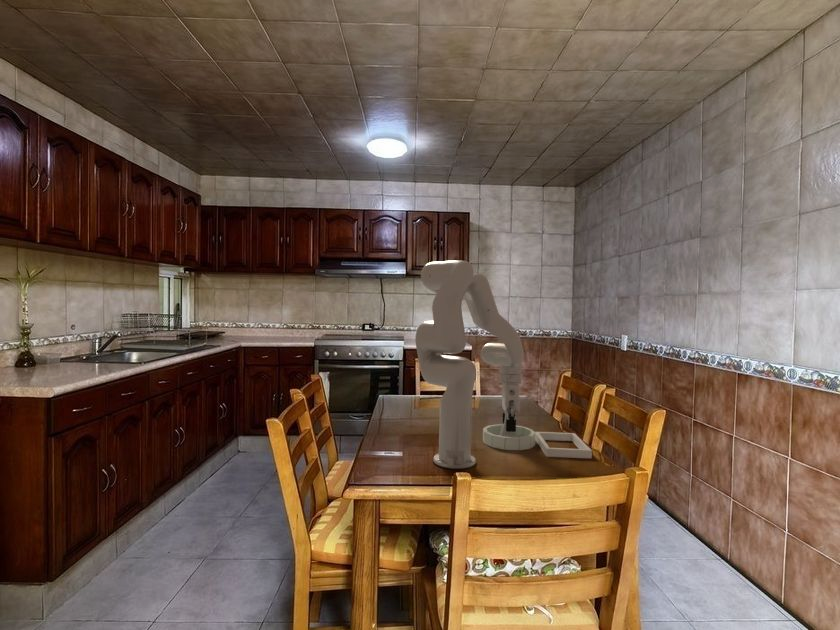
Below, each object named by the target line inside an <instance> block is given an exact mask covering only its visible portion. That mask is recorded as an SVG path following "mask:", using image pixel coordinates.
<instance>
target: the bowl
mask: <svg viewBox="0 0 840 630" xmlns="http://www.w3.org/2000/svg"><path fill="white" fill-rule="evenodd" d="M502 427H503V423H502V424H501V423H500V424H491V425H486V426H485V427H483V429H482V441H483V444H485V445H486V446H488V447H491V448H493V449H498V450H499V449H500V450H502V451H503V450H505V451H524V450H531V449H532V448H534V447H535V446H536V440H535V432H536V431H534V430H533V429H531V428H530V427H529V428H528V427H526V426H521V425H517V424H516V433H517V436H518V437H505V436H499V435H500V432H501V430H502Z"/></svg>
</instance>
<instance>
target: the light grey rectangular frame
mask: <svg viewBox="0 0 840 630" xmlns="http://www.w3.org/2000/svg"><path fill="white" fill-rule="evenodd" d="M534 432H535V443H537V445H538V447H540V449H541V450H542V452H543V453H544V456H545V457H549V458H568V459H569V458H571V459H572V458H573V459H575V458H576V459H592V458H593V450H592V449H591V448H590V447H589V446H588V445H587V444H586V443H585V442H584V441H583V439H581V438H580V437H579V436H578V435H577V434H576V433H575V432H554V431H534ZM546 441H563V442H566V441H567V442H572V443H573V444H574V445H575V446H576V447H577V448H565V447H549V445H548V443H547V442H546Z"/></svg>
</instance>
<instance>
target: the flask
mask: <svg viewBox="0 0 840 630" xmlns="http://www.w3.org/2000/svg"><path fill="white" fill-rule="evenodd" d="M503 413H505V421H504V424H503V423H502V424H503V427H502V430H501V432H500V435H499V436H505V437H518V436H517V433H516V431H515V432H507V431H506V419H507V413H506V412H503Z"/></svg>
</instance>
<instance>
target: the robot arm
mask: <svg viewBox="0 0 840 630" xmlns="http://www.w3.org/2000/svg"><path fill="white" fill-rule="evenodd" d="M420 279H421V282H422V284H423V286H424V287H425V288H426V289H427V290H429V291H431V292H433V293H435V294H436V295H435V296H434V298H433V301H432V307H431V313H432V320H425V321H424V322H422V323H420V324H419V325H418V327H417V329H416V333H415V338H414V339H415V340H414V341H415V346H416V354H417V358H418V365H419V371H420V373H421V376H422V378H423V381H425V382H426V383H427V384H429V385H434V386H438V387H444V388H446V390H445V391H444V392H443V394H442V397H441V399H440V401H439V426H438V427H439V432H438V434H439V435H438V453H436V454H434V456H433V458H432V459H433V462H434V464H436V465H437V466H439V467H442V468H447V469H452V470H453V469H454V470H455V469H457V470H459V469H460V470H461V469H467V468H472V467H473V466H475V464H476V460H477V459H476V457H475V456H474V455H471V450H472V449H471V448H472V416H473V415H472V414H473V413H472V406H473V392H474V385H475V382H476V377H477V368H476V365H475V364H474V362H473V361H472V360H470V359H469V358H467V357H465V356H464V357H463V356H458V355H457V354H460V353H462V352H463V350H465V347H466V345H467V339H466V331H465V324H464V318H463V311H462V309H463V308H462V304H463V303H462V302H463V301H465V303H466V305H467V308H468V311H469V313H470V316H471V319H472V322H473V324H474V325H475V326H477V327H478V328H480V329H481V330H483V331H486V332H487V333H489V334H491V335H493V336H495V337H496V338H498V339H499V340H500V341H501V342H488V343H486V344H484V345H483V346H482V348H481V349H480V358H481V360H482V361H483V363H485V364H487V365H491V366H498V367H499V373H498V375H499V377H498V378H499V379H498V380H499V381H498V382H499V384H500V383H501V385H502V387H501V407H502V424H504V421H505V413H504V412H506V413H507V419H506V431H507V432H515V431H516V425H517V420H516V419H517V417H516V414H519V413H520V385H521V384H522V370H523V368H522V367H523V363H524V358H525V353H524V352H525V351H524V347H523V344H522V341H521V338H520V335H519V333H518V332H517V330H516V328H514V327H513V326H512V324H511V323H510V322H509V321H508V320H507V319H505V318H504V317H503V316H502V315H501V314H500V313H499V309H498V307H497V304H496V301H495V298H494V294H493V292H492V289H491V286H490V283H489V280H488V278H487V277H486V276H485V275H484V274H482V273H478V272H476V273H475V272H474V266H473V265H472V263H471V262H469V261H467V260H461V259H459V260H457V259H456V260H454V259H453V260H452V259H450V260H444V261H442V260H441V261H439V260H438V261H431V262H427V263H426V264H425V265H424V266H423V267H422V269H421V272H420ZM447 354H449V355H447ZM455 354H456V355H455Z"/></svg>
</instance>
